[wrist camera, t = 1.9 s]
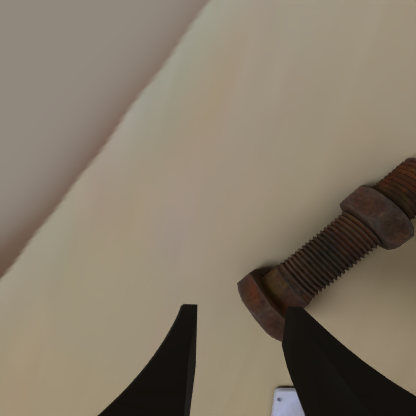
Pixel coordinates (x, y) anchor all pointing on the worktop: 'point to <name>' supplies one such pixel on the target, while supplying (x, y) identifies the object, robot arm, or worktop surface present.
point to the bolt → (335, 248)
